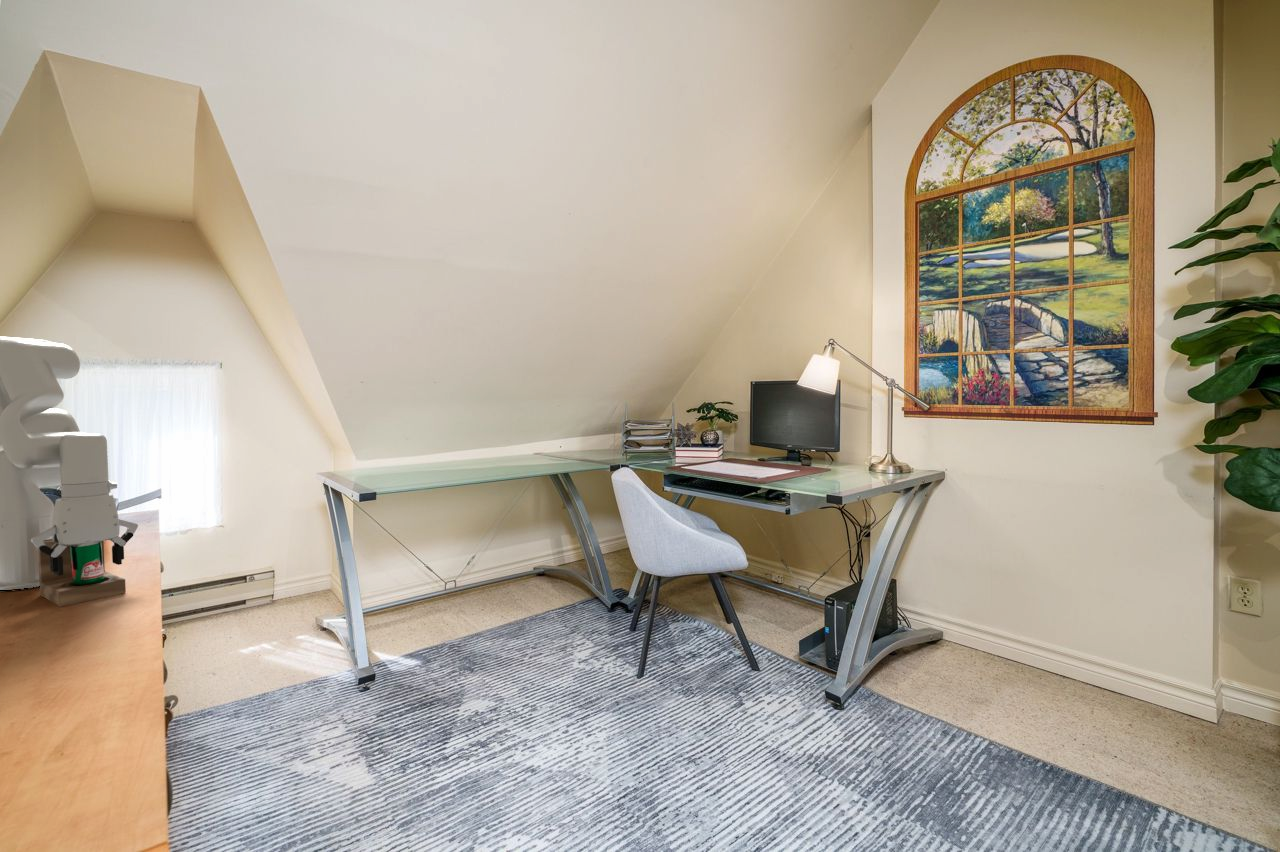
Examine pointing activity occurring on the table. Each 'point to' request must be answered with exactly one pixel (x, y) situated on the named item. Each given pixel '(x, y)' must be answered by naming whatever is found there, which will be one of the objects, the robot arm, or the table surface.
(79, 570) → the soda can
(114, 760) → the table surface
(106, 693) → the table surface
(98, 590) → the socket block
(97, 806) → the table surface
